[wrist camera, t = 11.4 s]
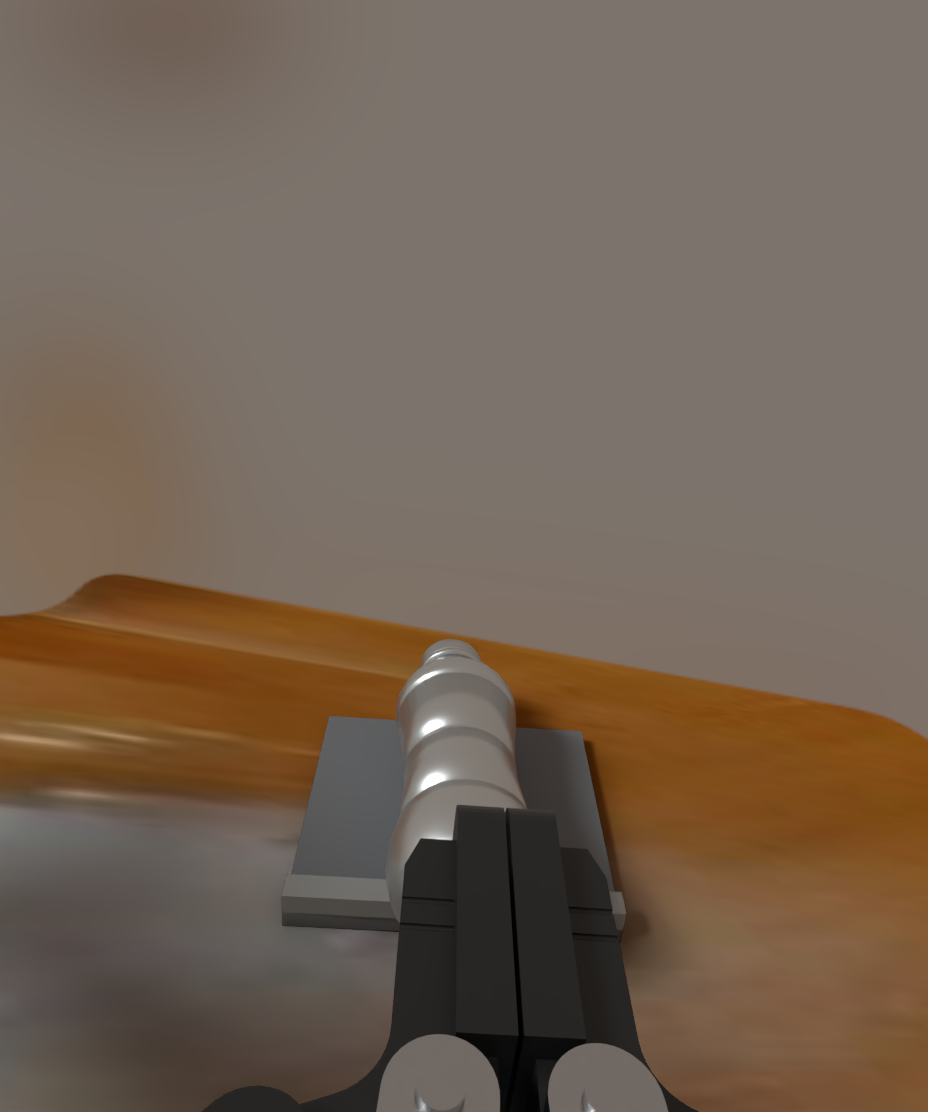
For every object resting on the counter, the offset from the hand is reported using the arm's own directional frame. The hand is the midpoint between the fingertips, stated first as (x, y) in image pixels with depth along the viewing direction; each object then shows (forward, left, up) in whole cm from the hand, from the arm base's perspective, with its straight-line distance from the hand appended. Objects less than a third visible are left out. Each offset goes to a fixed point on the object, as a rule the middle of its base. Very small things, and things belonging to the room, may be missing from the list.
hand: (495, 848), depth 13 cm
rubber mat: (+1, +23, -21) cm, 31 cm away
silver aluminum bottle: (+1, +12, -16) cm, 20 cm away
